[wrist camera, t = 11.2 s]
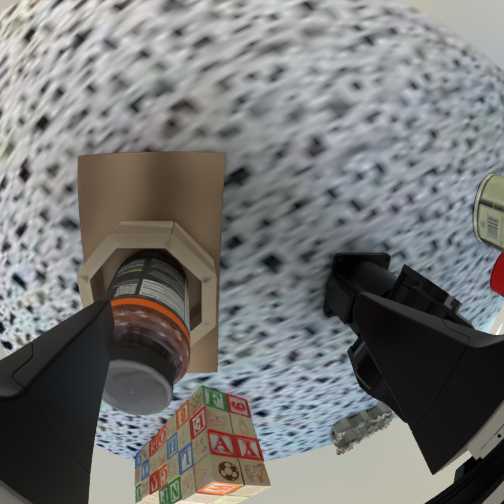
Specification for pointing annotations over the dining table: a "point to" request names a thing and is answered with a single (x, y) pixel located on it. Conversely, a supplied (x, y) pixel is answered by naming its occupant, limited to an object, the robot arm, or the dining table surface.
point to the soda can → (498, 276)
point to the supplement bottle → (147, 333)
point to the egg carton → (366, 422)
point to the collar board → (156, 228)
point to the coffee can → (490, 212)
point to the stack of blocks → (202, 454)
